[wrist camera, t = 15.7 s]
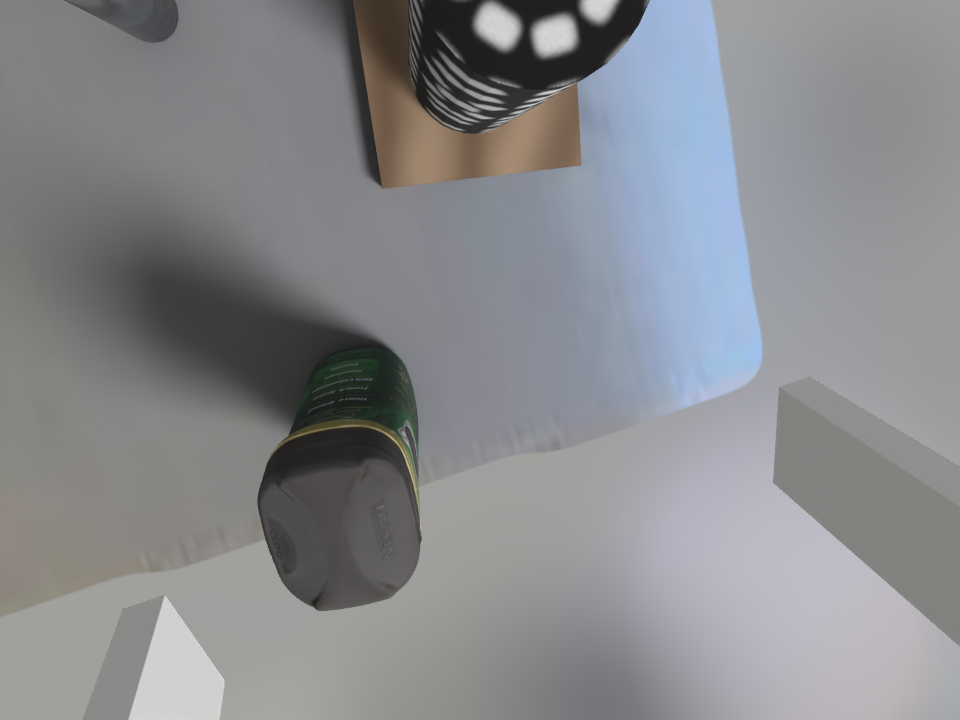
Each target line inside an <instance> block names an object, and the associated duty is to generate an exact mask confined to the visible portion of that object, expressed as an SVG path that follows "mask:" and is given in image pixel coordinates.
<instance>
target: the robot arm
mask: <svg viewBox="0 0 960 720" xmlns="http://www.w3.org/2000/svg"><path fill="white" fill-rule="evenodd" d="M773 478H774V479H773V483H774V484H775V485H777V486H778V487H779V488H780V489H781V490H782V491H783V492H785V493H786V494H787V495H788V496H789V497H790V498H791V499H792V500H794V501H795V502H796V503H797V504H798V505H799V506H800V507H802V508H803V509H804V510H805V511H806V512H807V513H808V514H809V515H811V516H812V517H813V518H814V519H815V520H816V521H818V522H819V523H820V524H821V525H822V526H823V527H824V528H826V529H827V530H828V531H829V532H830V533H831V534H832V535H833V536H835V537H836V538H837V539H838V540H839V541H840V542H842V543H843V544H844V545H845V546H846V547H847V548H848V549H849V550H851V551H852V552H853V553H854V554H855V555H856V556H857V557H859V558H860V559H861V560H862V561H863V562H864V563H865V564H867V565H868V566H869V567H870V568H871V569H872V570H873V571H874V572H876V573H877V574H878V575H879V576H880V577H881V578H882V579H884V580H885V581H886V582H887V583H888V584H889V585H890V586H892V587H893V588H894V589H895V590H896V591H897V592H898V593H900V594H901V595H902V596H903V597H904V598H905V599H906V600H907V601H909V602H910V603H911V604H912V605H913V606H914V607H915V608H917V609H918V610H919V611H920V612H921V613H922V614H923V615H925V616H926V617H927V618H928V619H929V620H930V621H931V622H933V623H934V624H935V625H936V626H937V627H938V628H939V629H941V630H942V631H943V632H944V633H945V634H946V635H948V636H949V637H950V638H951V639H952V640H953V641H954V642H955V643H956V644H958V645H959V646H960V467H959V466H958V465H956V464H955V463H953V462H951V461H950V460H948V459H946V458H944V457H943V456H941V455H940V454H938V453H936V452H935V451H933V450H931V449H930V448H928V447H926V446H924V445H923V444H921V443H920V442H918V441H916V440H914V439H913V438H911V437H909V436H908V435H906V434H904V433H903V432H901V431H899V430H898V429H896V428H894V427H893V426H891V425H889V424H888V423H886V422H884V421H883V420H881V419H879V418H878V417H876V416H874V415H873V414H871V413H869V412H868V411H866V410H864V409H863V408H861V407H859V406H858V405H856V404H854V403H853V402H851V401H849V400H848V399H846V398H844V397H843V396H841V395H839V394H838V393H836V392H834V391H833V390H831V389H829V388H828V387H826V386H824V385H823V384H821V383H819V382H818V381H816V380H814V379H813V378H811V377H808V378H805V379H802V380H799V381H796V382H793V383H790V384H787V385H784V386H781V387H779V398H778V413H777V429H776V445H775V461H774V476H773ZM224 685H225V681H224V679H223V678H222V676H221V675H220V674H219V672H218V671H217V669H216V668H215V666H214V665H213V664H212V662H211V661H210V659H209V658H208V656H207V655H206V653H205V652H204V650H203V649H202V648H201V646H200V645H199V643H198V642H197V640H196V639H195V638H194V636H193V635H192V633H191V632H190V630H189V629H188V627H187V626H186V625H185V623H184V622H183V620H182V619H181V618H180V616H179V615H178V613H177V612H176V610H175V609H174V607H173V606H172V605H171V603H170V602H169V600H168V599H167V597H166V596H165V595H163V596H160V597H157V598H154V599H151V600H149V601H146V602H143V603H140V604H137V605H134V606H131V607H128V608H125V609H123V610H122V613H121V616H120V618H119V621H118V624H117V627H116V629H115V632H114V635H113V638H112V640H111V643H110V646H109V649H108V651H107V654H106V657H105V660H104V662H103V665H102V668H101V671H100V673H99V676H98V679H97V682H96V684H95V687H94V690H93V693H92V695H91V699H90V701H89V704H88V706H87V709H86V712H85V715H84V717H83V720H219V718H220V712H221V705H222V698H223V692H224Z"/></svg>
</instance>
